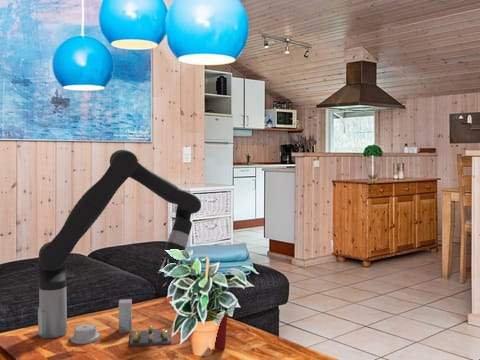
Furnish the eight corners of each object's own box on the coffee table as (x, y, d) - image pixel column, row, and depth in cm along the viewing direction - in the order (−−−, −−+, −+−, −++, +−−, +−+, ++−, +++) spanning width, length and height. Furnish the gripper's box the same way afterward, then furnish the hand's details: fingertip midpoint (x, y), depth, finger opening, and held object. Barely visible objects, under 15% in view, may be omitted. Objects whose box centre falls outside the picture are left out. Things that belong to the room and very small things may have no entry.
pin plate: (129, 346, 171) (129, 334, 171) (130, 333, 183) (130, 323, 183) (171, 343, 174) (171, 332, 174) (169, 331, 186) (169, 321, 185)
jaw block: (118, 332, 184) (118, 303, 183) (119, 328, 188) (119, 299, 188) (131, 332, 185) (131, 302, 184) (131, 328, 189) (131, 299, 189)
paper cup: (230, 344, 174) (230, 304, 173) (224, 353, 166) (225, 311, 165) (208, 342, 175) (208, 302, 175) (202, 350, 168) (202, 309, 167)
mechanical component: (85, 332, 185) (64, 341, 176) (85, 320, 185) (64, 329, 176) (105, 337, 180) (85, 346, 171) (105, 325, 180) (85, 334, 171)
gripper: (160, 241, 200) (146, 280, 195) (177, 240, 188) (163, 283, 183) (176, 247, 204) (163, 286, 198) (193, 247, 192) (180, 289, 187)
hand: (163, 284), depth 191 cm, fingers open, 8 cm apart
